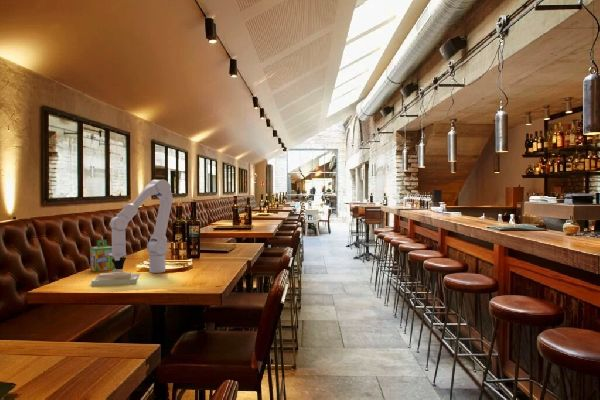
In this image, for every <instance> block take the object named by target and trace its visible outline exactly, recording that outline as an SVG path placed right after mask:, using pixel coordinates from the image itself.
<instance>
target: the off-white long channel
mask: <svg viewBox="0 0 600 400" xmlns="http://www.w3.org/2000/svg"><path fill="white" fill-rule="evenodd" d="M91 283H92V286H91V287H99V286H100V287H102V286H103V285H105V286H120V285H121V286H123V285H122V284H124V285H136V284H137V283H138V280H137V277H134V279H116V280H96V279H95V278H93V279H92V280H91Z"/></svg>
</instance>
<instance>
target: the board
mask: <svg viewBox="0 0 600 400" xmlns="http://www.w3.org/2000/svg"><path fill="white" fill-rule="evenodd" d="M140 276H141V273H131V279H134V277H137V281H139V277H140ZM94 279H96V280H99V275H97V276H96V277H95V278H94ZM123 285H125V284H122V285H121V286H123ZM103 286H106V285H103ZM89 287H93V286H92V282H91V283H90V284H89Z"/></svg>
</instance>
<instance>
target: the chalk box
mask: <svg viewBox="0 0 600 400" xmlns="http://www.w3.org/2000/svg"><path fill="white" fill-rule="evenodd" d="M101 243H103V244H102V245H101ZM109 254H112V245H111V246H110V245H108V242H107V239H100V240H99V239H98V240H96V246H91V247H90V248H89V257H90V258H89V259H90V261H89V262H90V271H91V272H101V271H112V270H115V266H114V263H113V262H112V259H113V258H115V257H113V256H109Z"/></svg>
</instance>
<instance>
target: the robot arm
mask: <svg viewBox="0 0 600 400" xmlns="http://www.w3.org/2000/svg"><path fill="white" fill-rule="evenodd" d="M171 187H172V186H171V184H170V183H169V182H168V180H166V179H152V180H151V181H149V183H148V184H146V185H145V186H144V188H143V190H142V191H141V192H140V193H139V194H138V195H137V197H136V198H135V199H134V200H133V201H132V202H131V203H126V204H124V205H123V208H122V209H121V210H120V212H118V213H116V215H115V216H113V217H112V219H111V220H110V222H109V224H108V225H109V227H110V228H111V247H112V254H109V256H113V257H115V258H113V259H112V262H113V263H114V266H115V270H117V269H123V270H124V265H125V262H126V260H127V257H126V256H127V251H126V249H127V248H126V247H127V246H126V245H127V244H126V242H127V241H126V228H127V227H128V225H129V222H130V221H131V220H132V219H133V218H134V216H136V215H137V213H138V212H139V210H138V209H139V208H140V207H141V206H142V204H143V203H144V202H145V201H147V200H148V198H149V197H151V196H156V197H157V198H158V199H159V207H158V211H157V216H156V221H155V225H154V230H153V234H151V236H150V237H149V238H150V239H149V241H148V242H147V244H146V249H147V251H148V252H149V253H148V255H149V256H148V257H149V260H148V262H149V263H148V264H149V266H148V267H149V272H148V273H150V274H151V273H152V274H157V273H159V274H160V273H165V272H166V252H167V251H168V238H167V236H166V234H167V229H168V225H169V224H168V223H169V219H170V214H171V209H172V205H173V201H174V198H173V194H172V188H171Z"/></svg>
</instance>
